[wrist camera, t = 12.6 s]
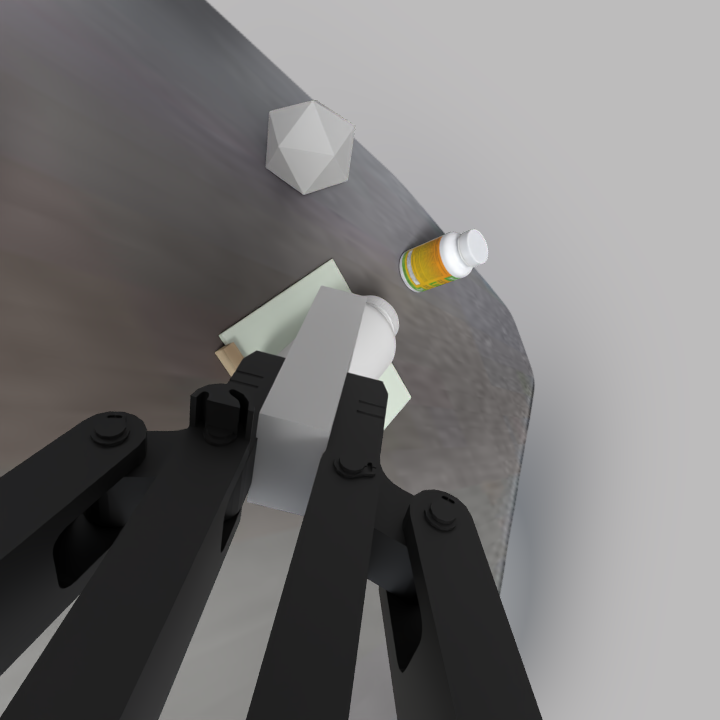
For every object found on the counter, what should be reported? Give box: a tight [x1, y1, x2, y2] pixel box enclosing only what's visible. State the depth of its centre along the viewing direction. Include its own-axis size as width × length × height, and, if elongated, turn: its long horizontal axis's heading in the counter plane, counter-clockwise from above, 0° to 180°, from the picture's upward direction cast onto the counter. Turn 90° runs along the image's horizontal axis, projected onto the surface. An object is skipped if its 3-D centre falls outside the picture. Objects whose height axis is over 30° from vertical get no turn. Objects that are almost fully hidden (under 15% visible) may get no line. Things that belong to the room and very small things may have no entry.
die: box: [266, 100, 355, 195], centre depth 49 cm, size 8×9×10 cm
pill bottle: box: [276, 295, 399, 380], centre depth 46 cm, size 8×8×15 cm
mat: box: [219, 259, 411, 429], centre depth 50 cm, size 16×18×1 cm
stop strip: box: [215, 342, 244, 377], centre depth 44 cm, size 1×16×2 cm, turn 42°
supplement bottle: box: [399, 229, 488, 292], centre depth 59 cm, size 5×5×10 cm
